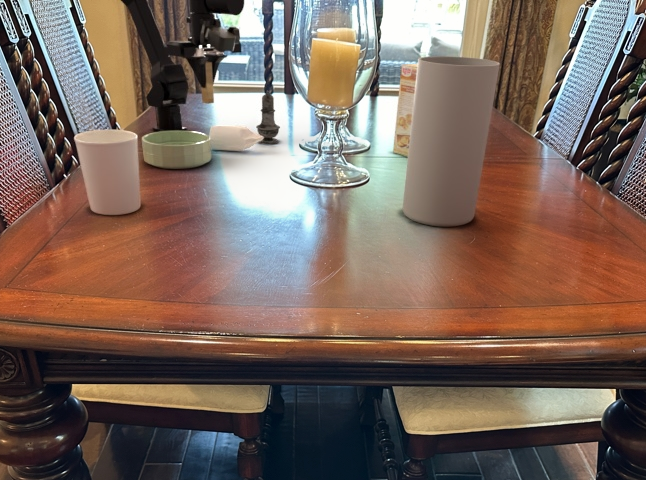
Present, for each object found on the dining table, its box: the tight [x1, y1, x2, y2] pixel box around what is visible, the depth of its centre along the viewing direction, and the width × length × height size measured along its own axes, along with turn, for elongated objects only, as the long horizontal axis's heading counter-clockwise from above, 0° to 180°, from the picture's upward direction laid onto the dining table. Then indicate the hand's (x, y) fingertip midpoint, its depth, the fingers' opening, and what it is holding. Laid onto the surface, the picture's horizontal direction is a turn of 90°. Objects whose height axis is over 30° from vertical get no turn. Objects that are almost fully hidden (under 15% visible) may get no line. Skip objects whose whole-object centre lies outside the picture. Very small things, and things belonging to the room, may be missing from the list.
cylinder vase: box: [402, 55, 501, 228], centre depth 101 cm, size 12×12×25 cm
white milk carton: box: [208, 124, 264, 152], centre depth 141 cm, size 6×12×6 cm, turn 83°
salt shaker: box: [255, 89, 281, 145], centre depth 148 cm, size 6×6×12 cm
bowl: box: [141, 130, 212, 170], centre depth 131 cm, size 14×14×5 cm
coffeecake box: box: [392, 63, 418, 158], centre depth 143 cm, size 15×7×20 cm, turn 131°
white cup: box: [73, 129, 142, 216], centre depth 102 cm, size 10×10×12 cm
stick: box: [200, 62, 215, 105], centre depth 145 cm, size 2×2×9 cm
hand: (207, 87), depth 145 cm, fingers closed on stick, 2 cm apart
